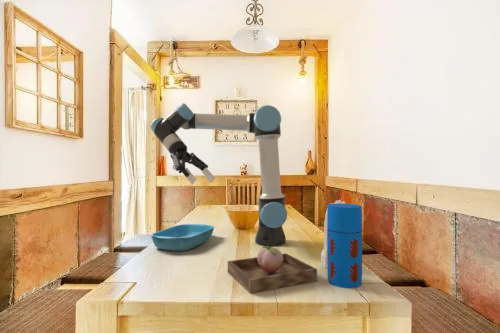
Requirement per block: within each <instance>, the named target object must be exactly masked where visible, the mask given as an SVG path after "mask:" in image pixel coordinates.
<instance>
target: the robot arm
mask: <svg viewBox="0 0 500 333" xmlns="http://www.w3.org/2000/svg"><path fill="white" fill-rule="evenodd" d="M281 122H282V115H281V113H280V111H279V109H277V107H275V106H273V105H268V104H267V105H265V104H264V105H263V106H260V107H259V108H257V110H256V111H255V112H251V113H250V112H249V113H248V114H222V113H221V114H219V113H217V114H216V113H194V112H193V110H192V109H190V107H189V106H188V105H187V103H181V104H180V105H179V106H177V107H176V108H175V109H174V110H173V111H172V112H171V113H170V114H168V115H167V116H166V117H165V118H163V117H158V118H156V119H153V121H152V122H151V124H150V129H151V131H152V132H153V133H154V134H153V135H155V137H156V138H157V139H158V140H159V142H160V143H161V144H162V145H163V146H164V148H165V150H167V151H168V153H169V154H170V155H169V156H170V158H171V159H172V162H173V163H172V164H173V166H174V168H175V171H177V172H178V173H179V174H183V175H184V177H185V178H186V179H187V180H188V181H189V183H190V185H193V184H194V183H195V182H196V180H197V178H196V177H195V175H194V174H193V173H192V172H191V170H190V169H189V168H188V167H186V163H187V164H189V165H192V166H194V167H196V168H197V169H199V170H200V171H201V173H202V174H203V176H205V178H206V180H208V182H209V183H212V182H214V180H215V179H216V177H215V176H214V175H213V173H212V172H211V171H210V170H209V169H208V168H209V165H208V164H206V163H205V162H204V161H203V160H202V159H200V158H199V157H198V156H197V155H196V154H195V153H193V152H190V153H189V152H188V146H187V145H186V144H185V142H184V141H183V140H182V138H181V137H180V136H179V135H178V134H177V133H176V132H178V131H179V129H184V130H190V129H191V130H198V129H199V130H217V131H218V130H221V131H245V132H248V133H249V134H254V138H255V139H256V140H257V141H258V149H259V150H258V152H259V165H260V180H261V184H260V185H261V195H259V197H258V202H257V203H258V228H257V232H256V234H255V238H254V239H255V240H254V242H255V244H257V245H260V246H269V245H270V247H273V246H274V247H276V246H282V245H285V244H286V243H287V238H286V235H285V231H284V227H283V225H285V223H286V221H287V218H288V210H287V209H286V196H285V195H284V194H283V193H282V187H281V172H280V170H281V168H280V154H279V139H280V138H281V137H282V134H281V132H282V131H281Z"/></svg>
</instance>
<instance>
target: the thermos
mask: <svg viewBox="0 0 500 333" xmlns="http://www.w3.org/2000/svg"><path fill="white" fill-rule="evenodd" d="M327 208H328V209H327ZM327 208H326V211H327V228H328V229H327V268H326V269H327V282H328V283H329V284H330V285H333V286H335V287H338V288H344V289H354V288H358V287H360V286H362V279H363V278H362V277H363V209H362V205H359V204H354V203H345V204H331V203H330V204H327Z"/></svg>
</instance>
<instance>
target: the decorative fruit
mask: <svg viewBox="0 0 500 333" xmlns="http://www.w3.org/2000/svg"><path fill="white" fill-rule="evenodd" d="M282 254H283V253H282V252H281V250H279V249H278V248H276V247H273V246H270V245H269V246H265V245H263V247H262V248H261V249H260V250H259V251H258V253H257V255H256V257H257V261H258V263H259V265H260V266H261V268H262V269H263V270H264V271H266V272H267V273H269V274H271V273H274V272H276V271H277V270H278V269H279V268H280V267H281V265H282V263H283V255H282Z"/></svg>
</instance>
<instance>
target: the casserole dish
mask: <svg viewBox="0 0 500 333" xmlns="http://www.w3.org/2000/svg"><path fill="white" fill-rule="evenodd" d="M214 229H215V226H214V225H212V224H205V223H183V224H177V225H173V226H171V227H167V228H164V229H161V230H158V231H156V232H152V233H151V234H150V235H151V239H152V243H153V245H154V247H156V248H157V249H158V250H163V251H164V250H165V251H174V252H183V251H190V250H191V249H194V248H196V247H198V246H200V245H202V244H203V243H205V242H207V241H208V240H210V239H211V237H212V236H213V232H214Z"/></svg>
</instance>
